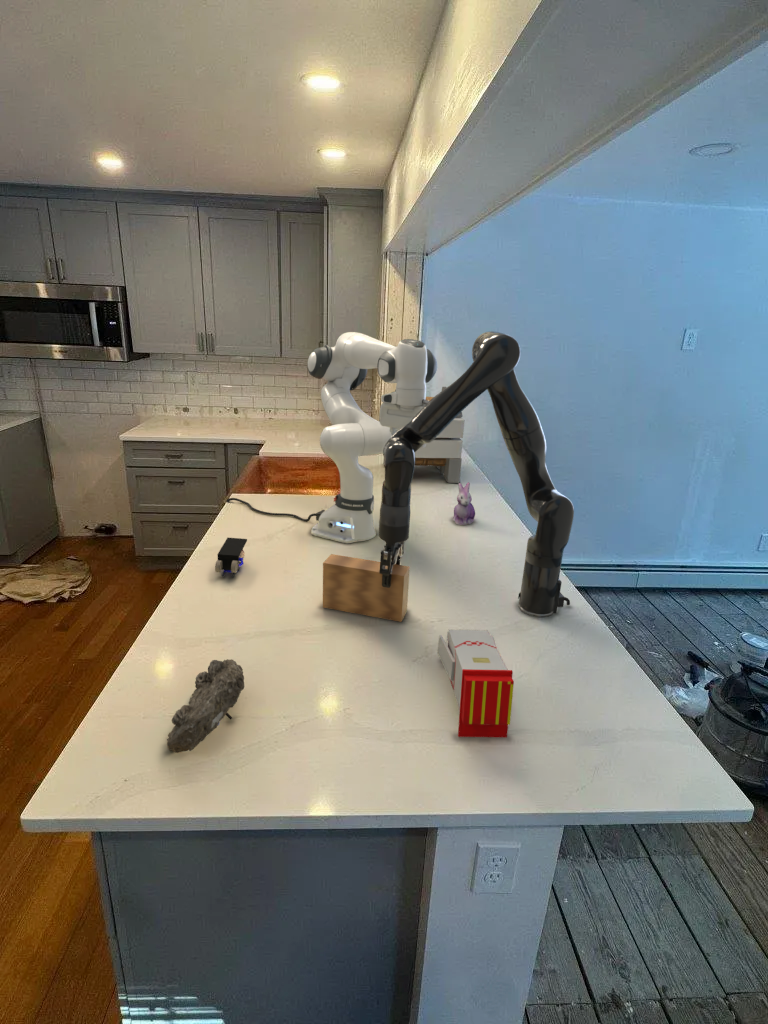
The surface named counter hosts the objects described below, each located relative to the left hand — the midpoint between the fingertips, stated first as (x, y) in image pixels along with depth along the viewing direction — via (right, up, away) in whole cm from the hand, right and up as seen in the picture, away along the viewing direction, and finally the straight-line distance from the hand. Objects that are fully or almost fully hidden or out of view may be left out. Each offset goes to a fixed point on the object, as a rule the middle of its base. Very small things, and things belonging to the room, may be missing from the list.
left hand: (408, 444), depth 169 cm
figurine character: (-52, -37, -2) cm, 64 cm away
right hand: (-6, -37, -25) cm, 45 cm away
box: (-12, -46, -20) cm, 51 cm away
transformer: (+10, -1, +106) cm, 106 cm away
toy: (+10, -58, -51) cm, 78 cm away
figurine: (+23, -24, +45) cm, 56 cm away
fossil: (-40, -59, -61) cm, 94 cm away
